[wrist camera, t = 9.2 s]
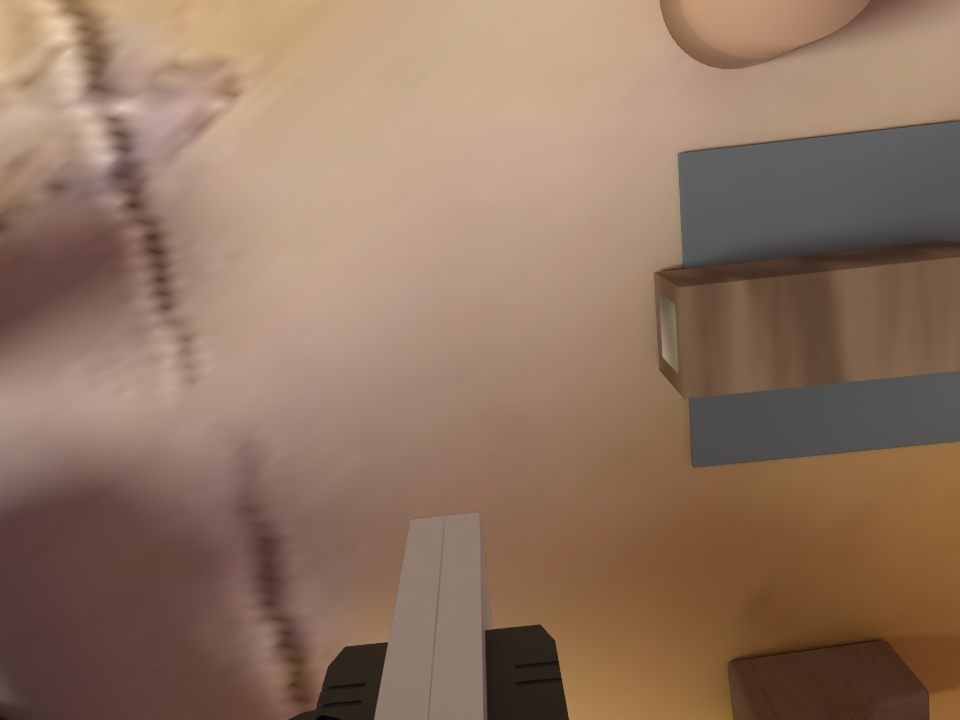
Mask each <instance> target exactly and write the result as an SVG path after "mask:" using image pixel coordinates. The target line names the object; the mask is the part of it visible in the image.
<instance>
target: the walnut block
mask: <svg viewBox="0 0 960 720" xmlns="http://www.w3.org/2000/svg"><path fill="white" fill-rule="evenodd" d="M654 280H655V298H656V316H657V334H658V352H659V370H660V371H661V372H662V373H663V375H664V376H665V377H666V378H667V379H668V380H669V382H670V383H671V384H672V385H673V386H674V387H675V389H676V390H677V391H678V392H679V393H680V394H681V396H682V397H683V398H684V399H688V398H698V397H708V396H717V395H727V394H737V393H747V392H756V391H766V390H776V389H786V388H796V387H805V386H815V385H825V384H835V383H844V382H854V381H864V380H874V379H884V378H893V377H903V376H913V375H923V374H932V373H942V372H952V371H960V243H957V242H950V241H935V242H926V243H917V244H908V245H898V246H889V247H880V248H871V249H862V250H853V251H844V252H834V253H825V254H816V255H807V256H798V257H789V258H779V259H770V260H761V261H752V262H743V263H734V264H725V265H715V266H706V267H697V268H688V269H679V270H670V271H660V272H654Z"/></svg>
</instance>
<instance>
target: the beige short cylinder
mask: <svg viewBox="0 0 960 720" xmlns="http://www.w3.org/2000/svg"><path fill="white" fill-rule="evenodd" d="M869 2H870V0H660V6H661V11H662V15H663V19H664V22H665V24H666V27H667V29H668V31H669V33H670V34H671V36H672V38H673V39H674V40H675V42H676V43H677V45H678V46H679V47H680V48H681V49H682V50H683V51H684V52H685V53H687V54H688V55H689V56H691V57H692V58H693V59H695V60H697V61H699V62H700V63H703V64H705V65H708V66H711V67H715V68H720V69H740V68H745V67H750V66H753V65H756V64H759V63H761V62H764V61H766V60H769V59H771V58H774V57H776V56H779V55H781V54H783V53H786V52H788V51H791V50H793V49H796V48H798V47H801V46H803V45H806V44H808V43H811V42H813V41H815V40H818V39H820V38H823V37H825V36H827V35H829V34H831V33H833V32H835V31H837V30H838V29H840V28H842V27H843V26H845V25H846V24H847V23H849V22H850V21H851V20H852V19H854V18H855V17H856V16H857V15H858V14H859V13H860V12H861V11H862V10H863V9H864V8H865V7H866V6H867V4H868V3H869Z"/></svg>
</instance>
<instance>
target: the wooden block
mask: <svg viewBox="0 0 960 720" xmlns="http://www.w3.org/2000/svg"><path fill="white" fill-rule="evenodd" d="M728 673H729V682H730V692H731V701H732V710H733V719H734V720H930V718H929V694H928V691H927V689H926V688H925V686H924V685H923V684H922V683H921V682H920V680H919V679H918V678H917V677H916V676H915V675H914V673H913V672H912V671H911V670H910V669H909V667H908V666H907V665H906V664H905V663H904V662H903V660H902V659H901V658H900V657H899V656H898V654H897V653H896V652H895V651H894V650H893V649H892V647H891V646H890V645H889V644H888V643H887V642H885V641H881V640H878V641H871V642H864V643H857V644H850V645H843V646H836V647H829V648H822V649H814V650H807V651H800V652H793V653H786V654H779V655H772V656H765V657H758V658H751V659H744V660H737V661H732V662H730V663H729V667H728Z"/></svg>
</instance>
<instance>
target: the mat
mask: <svg viewBox="0 0 960 720" xmlns="http://www.w3.org/2000/svg"><path fill="white" fill-rule="evenodd" d="M678 165H679V187H680V209H681V231H682V253H683V269H688V268H697V267H706V266H715V265H725V264H734V263H743V262H752V261H761V260H770V259H779V258H789V257H798V256H807V255H816V254H825V253H834V252H844V251H853V250H862V249H871V248H880V247H889V246H898V245H908V244H917V243H926V242H935V241H950V242H957V243H960V121H956V122H948V123H939V124H930V125H922V126H913V127H904V128H895V129H887V130H878V131H869V132H861V133H852V134H843V135H835V136H826V137H817V138H809V139H800V140H791V141H783V142H774V143H765V144H757V145H748V146H739V147H731V148H722V149H713V150H705V151H696V152H687V153H678ZM689 406H690V428H691V450H692V465H693V466H694V467H704V466H714V465H724V464H735V463H745V462H755V461H765V460H775V459H785V458H796V457H806V456H816V455H826V454H836V453H846V452H857V451H867V450H877V449H887V448H897V447H907V446H917V445H928V444H938V443H948V442H958V441H960V371H952V372H942V373H932V374H923V375H913V376H903V377H893V378H884V379H874V380H864V381H854V382H844V383H835V384H825V385H815V386H805V387H796V388H786V389H776V390H766V391H756V392H747V393H737V394H727V395H717V396H708V397H698V398H689Z"/></svg>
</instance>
